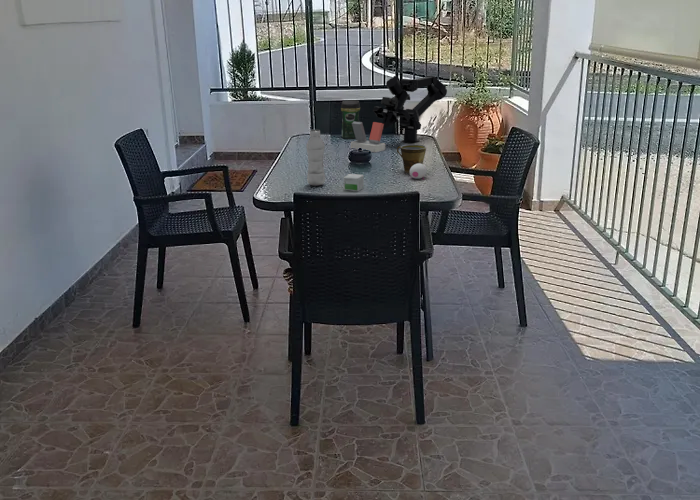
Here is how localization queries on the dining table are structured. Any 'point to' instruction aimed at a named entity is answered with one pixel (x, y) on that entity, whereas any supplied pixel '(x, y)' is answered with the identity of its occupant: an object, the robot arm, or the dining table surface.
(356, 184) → the small box
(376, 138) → the upright red slab
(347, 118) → the coffee jar
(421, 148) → the ceramic cup
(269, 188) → the dining table surface
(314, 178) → the plastic bottle
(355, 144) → the shallow grey tray
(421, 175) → the stress ball
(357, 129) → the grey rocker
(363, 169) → the dining table surface
